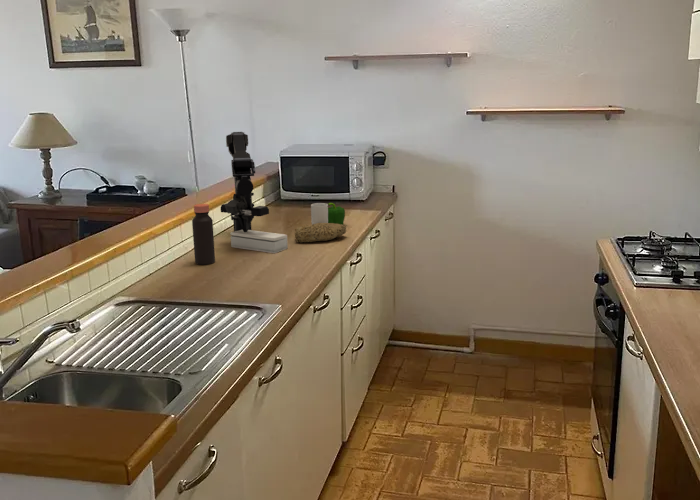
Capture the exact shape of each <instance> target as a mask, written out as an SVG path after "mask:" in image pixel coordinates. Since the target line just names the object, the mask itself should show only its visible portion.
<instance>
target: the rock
mask: <svg viewBox="0 0 700 500" xmlns="http://www.w3.org/2000/svg"><path fill="white" fill-rule="evenodd" d="M346 232H347V227H346V226H345V225H344V224H343V225H342V224H334V223H316V224H312V223H311V224H305V225H303V226H302V225H301V226H298V227H296V228H294V238H295V241H296V243H298V244H301V243H313V242H325V241H327V242H328V241H330V240H331V241H332V240H334V239H337V238H340V237H342V236H343V235H345V234H346Z"/></svg>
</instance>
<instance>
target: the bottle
mask: <svg viewBox="0 0 700 500" xmlns="http://www.w3.org/2000/svg"><path fill="white" fill-rule="evenodd" d="M193 211H194V214H195V216H194V217H193V219H192V220H191V225H192V239H193V251H194V252H193V253H194V263H195V265H201V266H204V265H205V266H206V265H212V264H214V263H215V262H216V253H215V252H216V250H215V237H214V235H215V234H214V223H213V222H214V221H213V219H212V217H211V216H210V215H209V214H210V205H209V204H208V203H197V204H194V205H193Z"/></svg>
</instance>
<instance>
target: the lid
mask: <svg viewBox="0 0 700 500" xmlns="http://www.w3.org/2000/svg"><path fill="white" fill-rule="evenodd" d="M230 236H241V237H248V238H255V239H263V240H270V241H276V240H280V239H284V238H287V239H288V234H284V233H275V232H270V231H269V232H267V231H261V230H254V229H251V230H248V231H247V232H244V231H243V230H239V231H235V232H234V231H231V232H230Z"/></svg>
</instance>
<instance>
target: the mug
mask: <svg viewBox="0 0 700 500" xmlns="http://www.w3.org/2000/svg"><path fill="white" fill-rule="evenodd" d="M328 206H329V203H324V202H316V203H312V204H310V216H311V217H310V219H311V225H312V224H316V223H328Z"/></svg>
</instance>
